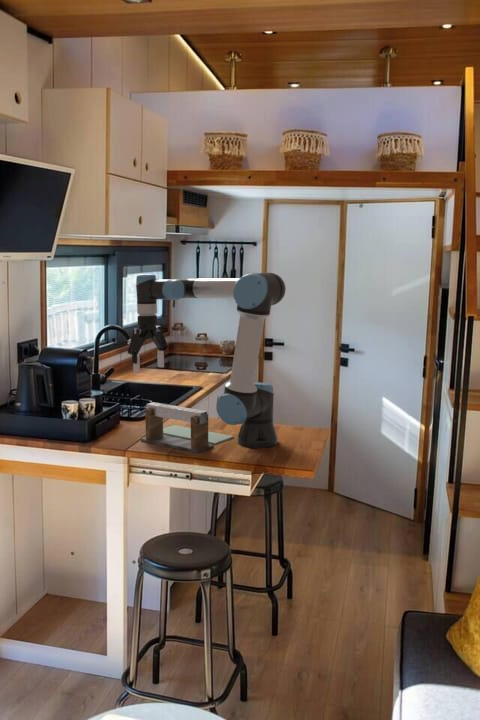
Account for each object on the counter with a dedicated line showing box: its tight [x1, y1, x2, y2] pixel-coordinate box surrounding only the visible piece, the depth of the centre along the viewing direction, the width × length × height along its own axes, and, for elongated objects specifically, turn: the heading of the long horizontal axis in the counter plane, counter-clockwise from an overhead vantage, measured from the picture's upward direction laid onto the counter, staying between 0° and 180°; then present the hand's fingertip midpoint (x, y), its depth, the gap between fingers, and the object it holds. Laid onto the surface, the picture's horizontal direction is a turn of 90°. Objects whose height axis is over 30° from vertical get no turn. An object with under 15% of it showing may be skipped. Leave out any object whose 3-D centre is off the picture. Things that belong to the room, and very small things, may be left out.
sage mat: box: [163, 424, 235, 445], centre depth 272 cm, size 30×12×1 cm, turn 55°
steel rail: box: [146, 401, 208, 424], centre depth 257 cm, size 26×4×4 cm, turn 55°
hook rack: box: [140, 407, 215, 454], centre depth 258 cm, size 28×9×12 cm, turn 55°
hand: (149, 369), depth 269 cm, fingers open, 13 cm apart
